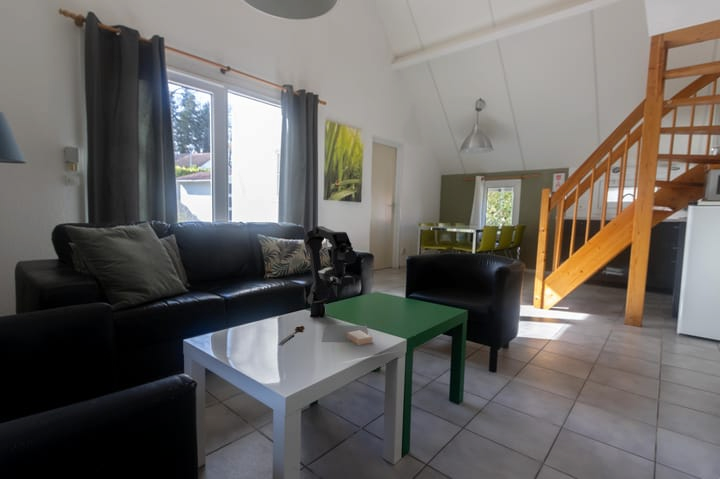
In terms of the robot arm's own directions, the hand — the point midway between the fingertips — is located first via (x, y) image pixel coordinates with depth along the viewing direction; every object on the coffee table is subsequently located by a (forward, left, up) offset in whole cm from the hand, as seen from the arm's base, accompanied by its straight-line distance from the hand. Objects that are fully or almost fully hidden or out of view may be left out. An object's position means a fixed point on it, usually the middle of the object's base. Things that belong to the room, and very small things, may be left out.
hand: (337, 297), depth 151 cm
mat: (+4, -10, -13) cm, 17 cm away
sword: (-17, -15, -14) cm, 26 cm away
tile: (+7, -14, -11) cm, 19 cm away
